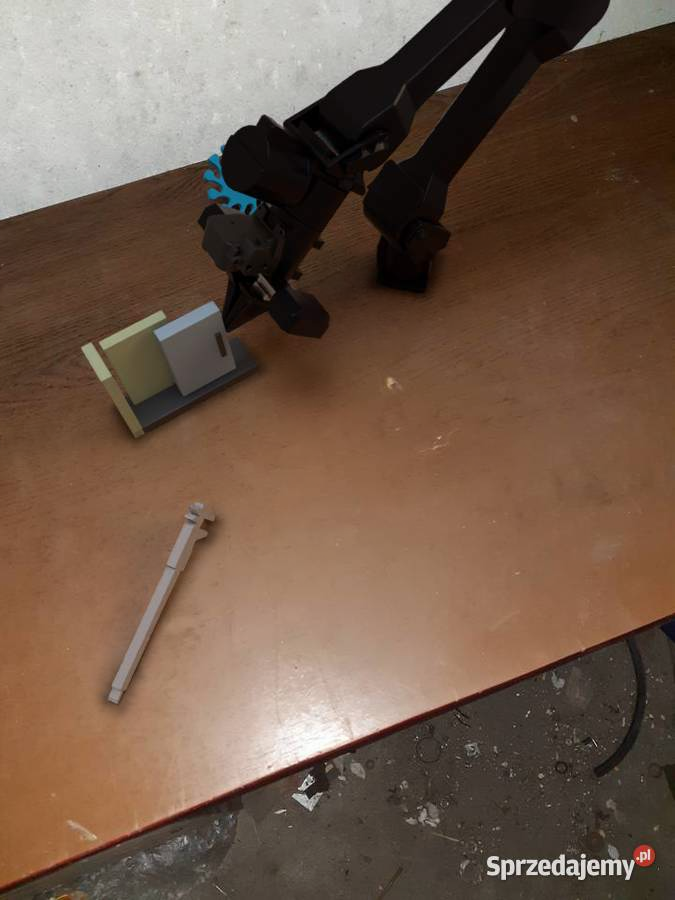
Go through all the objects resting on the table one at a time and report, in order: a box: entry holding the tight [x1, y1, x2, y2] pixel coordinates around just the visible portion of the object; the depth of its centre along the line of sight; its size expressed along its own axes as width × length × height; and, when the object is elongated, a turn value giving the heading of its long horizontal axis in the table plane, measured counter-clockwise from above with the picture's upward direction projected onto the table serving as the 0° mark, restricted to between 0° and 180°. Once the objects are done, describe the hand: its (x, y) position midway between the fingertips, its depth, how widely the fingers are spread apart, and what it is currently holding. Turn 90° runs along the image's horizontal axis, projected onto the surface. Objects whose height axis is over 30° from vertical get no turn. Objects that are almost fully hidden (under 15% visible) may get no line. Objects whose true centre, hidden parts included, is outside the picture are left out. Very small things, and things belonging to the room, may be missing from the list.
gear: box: [202, 144, 263, 215], centre depth 94 cm, size 11×6×10 cm
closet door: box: [153, 300, 236, 396], centre depth 76 cm, size 7×2×11 cm, turn 124°
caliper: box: [107, 501, 216, 705], centre depth 67 cm, size 20×1×6 cm, turn 158°
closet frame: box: [80, 309, 260, 439], centre depth 76 cm, size 16×5×12 cm, turn 124°
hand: (223, 330), depth 77 cm, fingers closed
